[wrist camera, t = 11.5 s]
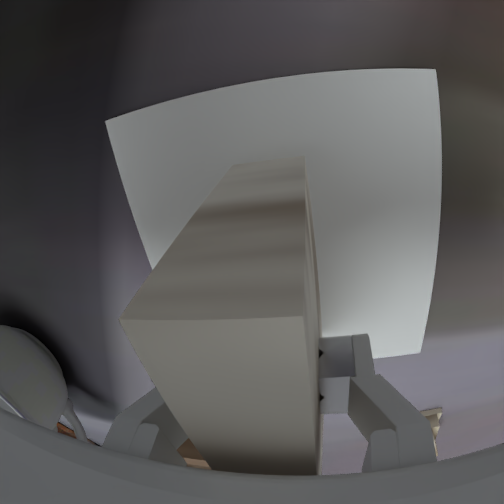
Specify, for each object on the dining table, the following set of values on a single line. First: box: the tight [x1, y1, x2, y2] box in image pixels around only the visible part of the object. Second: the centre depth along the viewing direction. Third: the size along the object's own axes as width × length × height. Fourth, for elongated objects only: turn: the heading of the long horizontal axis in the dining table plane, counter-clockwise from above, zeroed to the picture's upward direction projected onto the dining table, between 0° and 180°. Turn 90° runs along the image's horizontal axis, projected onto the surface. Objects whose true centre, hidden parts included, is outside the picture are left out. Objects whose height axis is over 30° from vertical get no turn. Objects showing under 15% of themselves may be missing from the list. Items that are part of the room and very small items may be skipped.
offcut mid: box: [425, 414, 439, 439], centre depth 20 cm, size 4×3×1 cm
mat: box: [105, 68, 442, 359], centre depth 15 cm, size 15×14×1 cm
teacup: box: [0, 325, 87, 442], centre depth 21 cm, size 14×11×8 cm
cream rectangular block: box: [118, 156, 324, 475], centre depth 10 cm, size 10×2×8 cm, turn 10°
